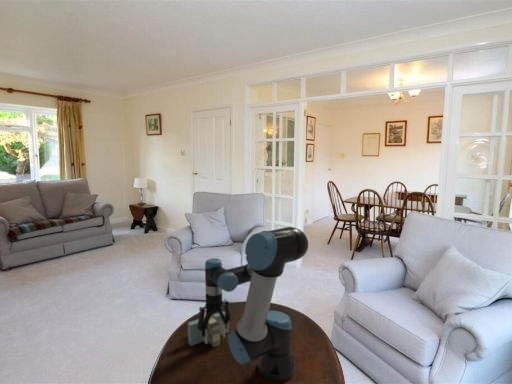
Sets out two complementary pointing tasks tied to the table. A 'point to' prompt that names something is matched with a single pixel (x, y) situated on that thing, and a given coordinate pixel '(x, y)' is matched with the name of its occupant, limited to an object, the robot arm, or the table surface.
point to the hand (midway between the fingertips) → (214, 338)
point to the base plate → (196, 334)
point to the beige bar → (213, 331)
